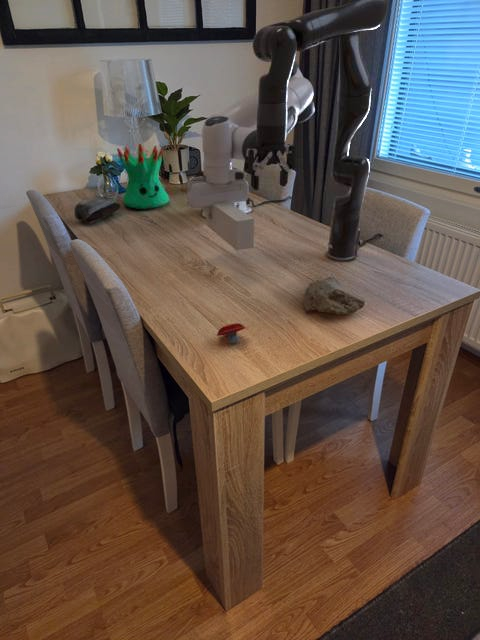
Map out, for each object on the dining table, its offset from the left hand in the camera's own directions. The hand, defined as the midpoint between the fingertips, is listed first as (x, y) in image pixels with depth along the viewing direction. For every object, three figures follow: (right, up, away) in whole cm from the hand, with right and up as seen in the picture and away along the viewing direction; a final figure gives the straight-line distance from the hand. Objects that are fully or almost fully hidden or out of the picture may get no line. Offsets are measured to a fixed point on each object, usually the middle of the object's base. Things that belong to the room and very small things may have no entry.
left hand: (218, 217), depth 145 cm
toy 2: (-9, +33, +80) cm, 87 cm away
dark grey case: (-52, +9, +41) cm, 67 cm away
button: (+5, -39, -35) cm, 53 cm away
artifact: (+32, -30, -20) cm, 48 cm away
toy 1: (-36, +19, +58) cm, 71 cm away
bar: (+3, -7, -4) cm, 9 cm away
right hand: (+15, +2, -26) cm, 30 cm away
